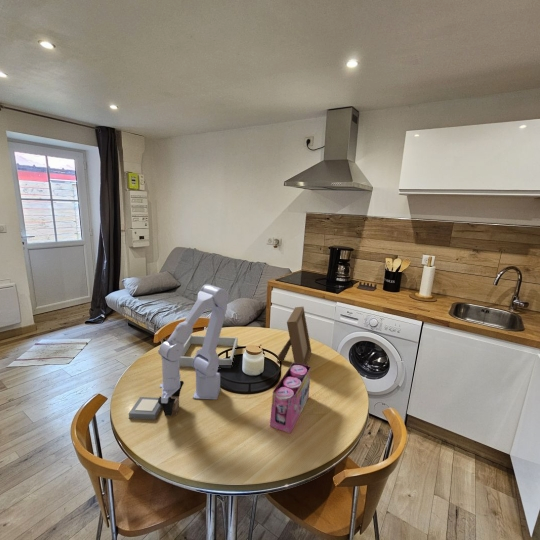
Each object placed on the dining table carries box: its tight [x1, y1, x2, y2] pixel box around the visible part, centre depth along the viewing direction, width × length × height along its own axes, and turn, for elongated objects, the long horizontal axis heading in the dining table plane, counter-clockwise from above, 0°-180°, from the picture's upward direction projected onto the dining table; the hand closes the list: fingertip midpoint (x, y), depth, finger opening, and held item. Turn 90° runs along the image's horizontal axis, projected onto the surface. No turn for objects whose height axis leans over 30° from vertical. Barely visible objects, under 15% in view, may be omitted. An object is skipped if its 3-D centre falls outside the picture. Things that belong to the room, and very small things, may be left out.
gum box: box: [269, 361, 312, 434], centre depth 108 cm, size 24×8×14 cm, turn 157°
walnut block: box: [170, 396, 180, 416], centre depth 106 cm, size 4×4×5 cm
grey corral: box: [179, 334, 238, 368], centre depth 147 cm, size 26×24×4 cm
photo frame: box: [276, 306, 312, 366], centre depth 145 cm, size 15×22×25 cm
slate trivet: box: [128, 396, 163, 420], centre depth 106 cm, size 9×9×2 cm
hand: (171, 407), depth 106 cm, fingers open, 7 cm apart
